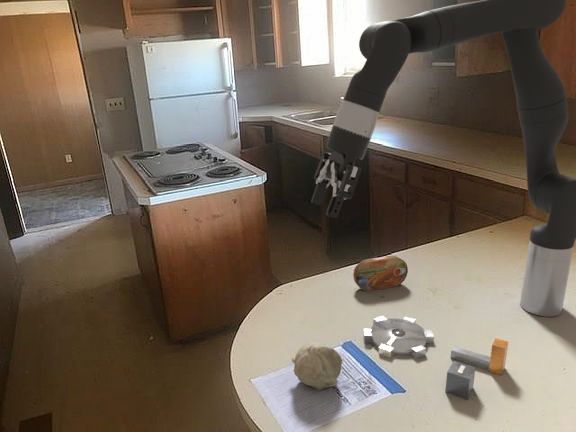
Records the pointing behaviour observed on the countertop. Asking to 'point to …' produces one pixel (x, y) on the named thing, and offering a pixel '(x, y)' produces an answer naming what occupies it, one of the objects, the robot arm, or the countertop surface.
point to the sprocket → (398, 337)
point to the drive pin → (484, 357)
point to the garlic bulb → (317, 365)
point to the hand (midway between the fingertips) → (323, 209)
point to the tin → (380, 273)
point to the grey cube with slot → (460, 380)
